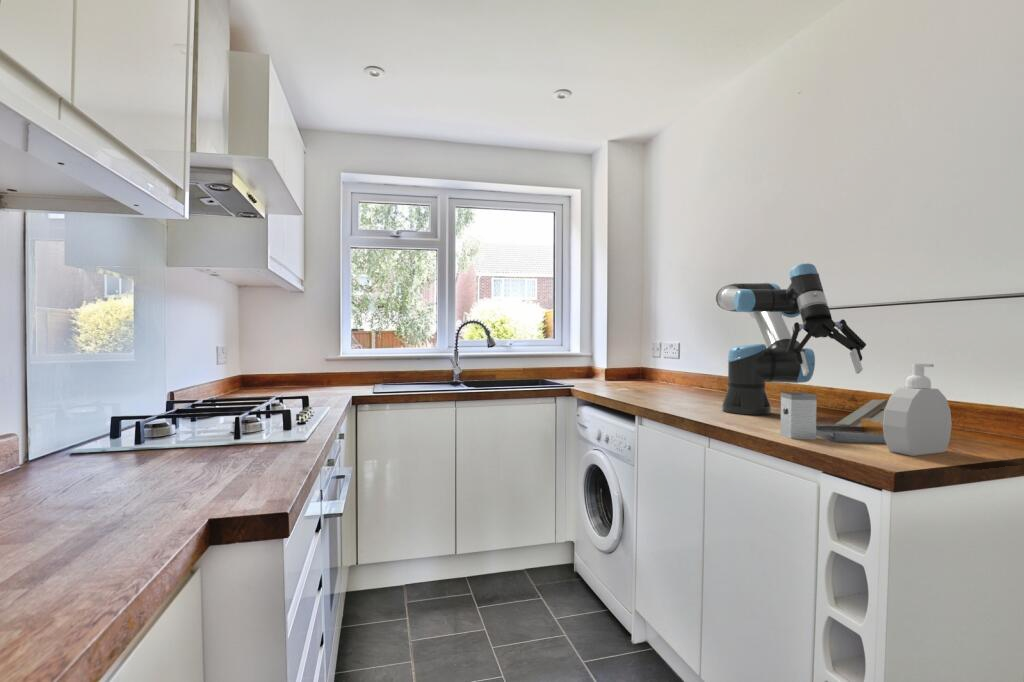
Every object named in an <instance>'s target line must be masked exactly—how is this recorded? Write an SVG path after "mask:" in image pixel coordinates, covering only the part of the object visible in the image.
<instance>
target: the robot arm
mask: <svg viewBox="0 0 1024 682" xmlns="http://www.w3.org/2000/svg"><path fill="white" fill-rule="evenodd" d="M789 280H790V284H789V286H787V287H788V288H783V289H782V288H781V287H780V286H779V285H778V284H776V283H773V282H772V283H771V282H770V283H769V282H764V283H762V282H761V283H759V282H758V283H757V282H756V283H754V282H753V283H750V282H749V283H743V282H742V283H740V282H739V283H731V284H727V285H724V286H723V287H721V288H720V289H719V290H718V291H717V292H716V295H715V301H716V304H717V306H718V307H719V308H721V309H722V310H725V311H728V312H734V313H748V314H749V316H750V317H751V318H752V319H754V320H755V321H756V324H757V326H758V328H759V331H760V333H761V335H762V339H763V340H764V342H765V344H764V343H758V344H746V345H745V344H744V345H739V346H738V345H737V346H734V347H731V348H729V351H728V357H727V363H728V365H727V366H728V367H727V369H728V371H727V372H728V374H727V390H726V394H725V396H724V399H723V402H722V407H721V408H722V411H723V412H726V413H731V414H740V415H752V416H754V415H755V416H759V415H761V416H762V415H763V416H764V415H770V414H771V413H772V412H771V410H772V408H771V404H770V401H769V398H768V395H767V392H766V383H788V384H789V383H790V384H791V383H793V384H800V383H801V384H802V383H808V382H810V380H812V377H813V375H814V372H815V366H816V356H815V352H814V350H813V349H812V348H807V347H806V348H804V347H805V346H806V344H807V343H808V341H810V339H811V338H815V339H818V338H827V337H828V338H830V339H833V340H835V341H836V342H838V343H839V344H841V346H844V347H845V348H847V349H848V350H849V351H850V352H849V355H850V359H851V362H852V364H853V368H854V371H855V374H856V375H857V374H860V373H861V372H863V371H864V368H863V366H862V363H861V361H863V355H862V353H861V351H863V350H864V349H865V347H866V346H867V344H866V342H865V341H864V340H863V339H862V338H861V337H860V336H858V334H856V333H855V331H854V330H853V329H851V327H850V326H849V325H848V324H847V321H846V320H845V319H840V321H834V320H833V319H832V314H831V310H830V307H829V305H828V300H827V298H826V295H825V293H824V288H823V285H822V282H821V278H820V274H819V272H818V270H817V266H815V265H814V264H812V263H809V262H808V263H800V264H797V265H796V266H795V265H794V266H793V267H792V268H791V269H790V271H789ZM783 316H784V317H786V318H790V319H791V318H796V317H799V316H800V317H801V321H802V323H799V322H798V321H797V322H794V324H793V326H792V334H791V332H790V330H789V328H788V327H787V324H786V322H785V319H784V318H783ZM802 330H804V331H805V332H806V333H807V334H806V335H805V336H804V337H803V339H802V341H801V342H799V341H798V340H797V339H798V335H799V332H801V331H802Z"/></svg>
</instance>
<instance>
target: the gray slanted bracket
mask: <svg viewBox="0 0 1024 682" xmlns="http://www.w3.org/2000/svg"><path fill="white" fill-rule="evenodd" d="M887 403H888V400H887V399H871V400H870V401H868V402H867V403H865V404H864V405H862V406H860V407H859V408H857V409H856V410H855V411H853V412H851V413H850V414H848V415H847V416H844V417H843V418H842V419H840V420H839V421H838V422H836V423H834V425H841V426H861V419H869V420H873V421H877V422H881V423H883V419H884V412H885V408H886V405H887Z"/></svg>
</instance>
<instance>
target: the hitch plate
mask: <svg viewBox="0 0 1024 682" xmlns="http://www.w3.org/2000/svg"><path fill="white" fill-rule="evenodd" d="M816 436H818V437H821V438H824V439H825V440H828V441H832V442H834V443H849V444H850V443H856V444H857V443H859V444H886V442H885V439H884V431H883V423H881V422H877V421H873V420H869V419H861V426H850V425H841V424H840V425H839V424H838V425H837V424H833V425H832V424H816ZM886 445H887V444H886Z"/></svg>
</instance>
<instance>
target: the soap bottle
mask: <svg viewBox="0 0 1024 682" xmlns="http://www.w3.org/2000/svg"><path fill="white" fill-rule="evenodd" d="M934 366H935V365H934V363H920V362H918V363H917V362H915V363H914V362H913V363H912V367H911V368H912V369H911V370H912V371H911V372H912V373H911V374H912V375H909V376H907V377H906V378H905V382H904V383H905V387H897V388H896V389H895V391H894V392H893V393H892V394H890V396H889V398H888V400H887V402H888V403H887V405H886V408H885V412H884V419H883V431H884V439H885V442H886V447H887V448H888V451H889V452H890V453H894V454H895V453H896V454H898V455H899V454H900V455H905V456H910V457H918V456H925V455H934V454H941V453H945V452H946V451H947V448H948V445H949V443H950V441H951V435H952V434H951V433H952V425H953V423H952V415H951V412H952V411H951V408H950V405H949V403H948V400H947V397H946V396H945V395H944V394H943V393H942V391H941V390H940V389H939V388H932V382H931V379H930V378H929V377H928V376H926V375H925V368H934Z"/></svg>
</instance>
